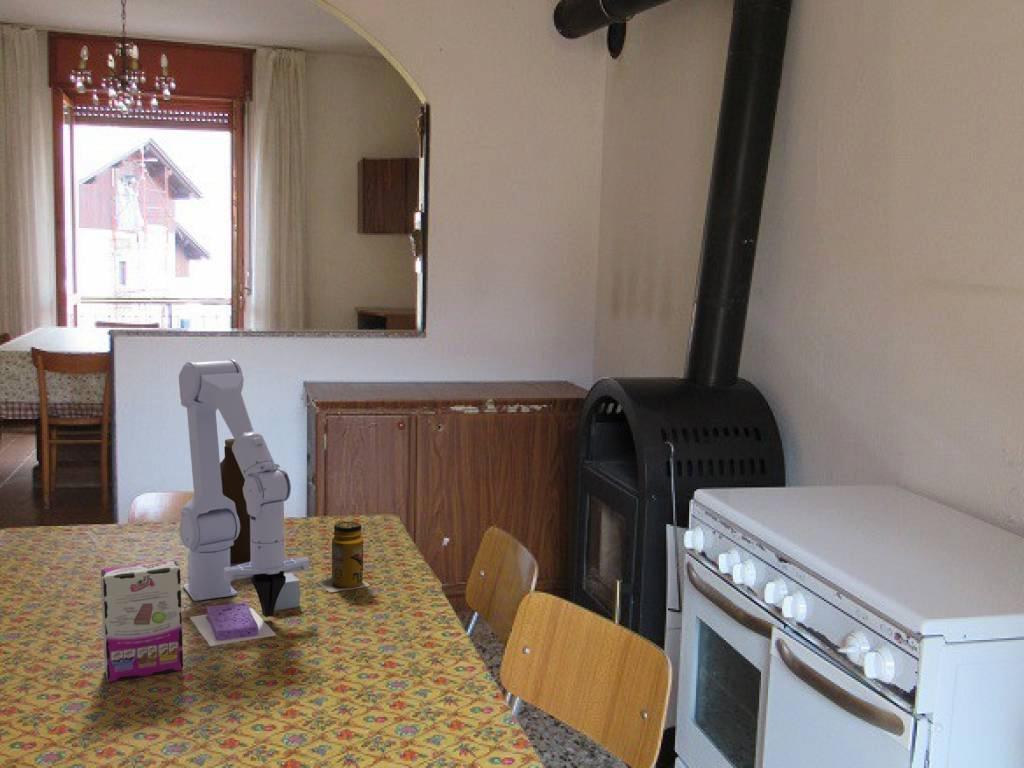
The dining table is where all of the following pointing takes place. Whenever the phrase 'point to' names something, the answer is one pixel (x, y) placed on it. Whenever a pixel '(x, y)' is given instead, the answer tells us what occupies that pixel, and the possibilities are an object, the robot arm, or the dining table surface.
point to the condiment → (346, 558)
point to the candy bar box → (141, 620)
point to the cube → (289, 593)
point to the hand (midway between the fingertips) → (267, 614)
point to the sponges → (232, 621)
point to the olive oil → (236, 502)
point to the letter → (208, 634)
